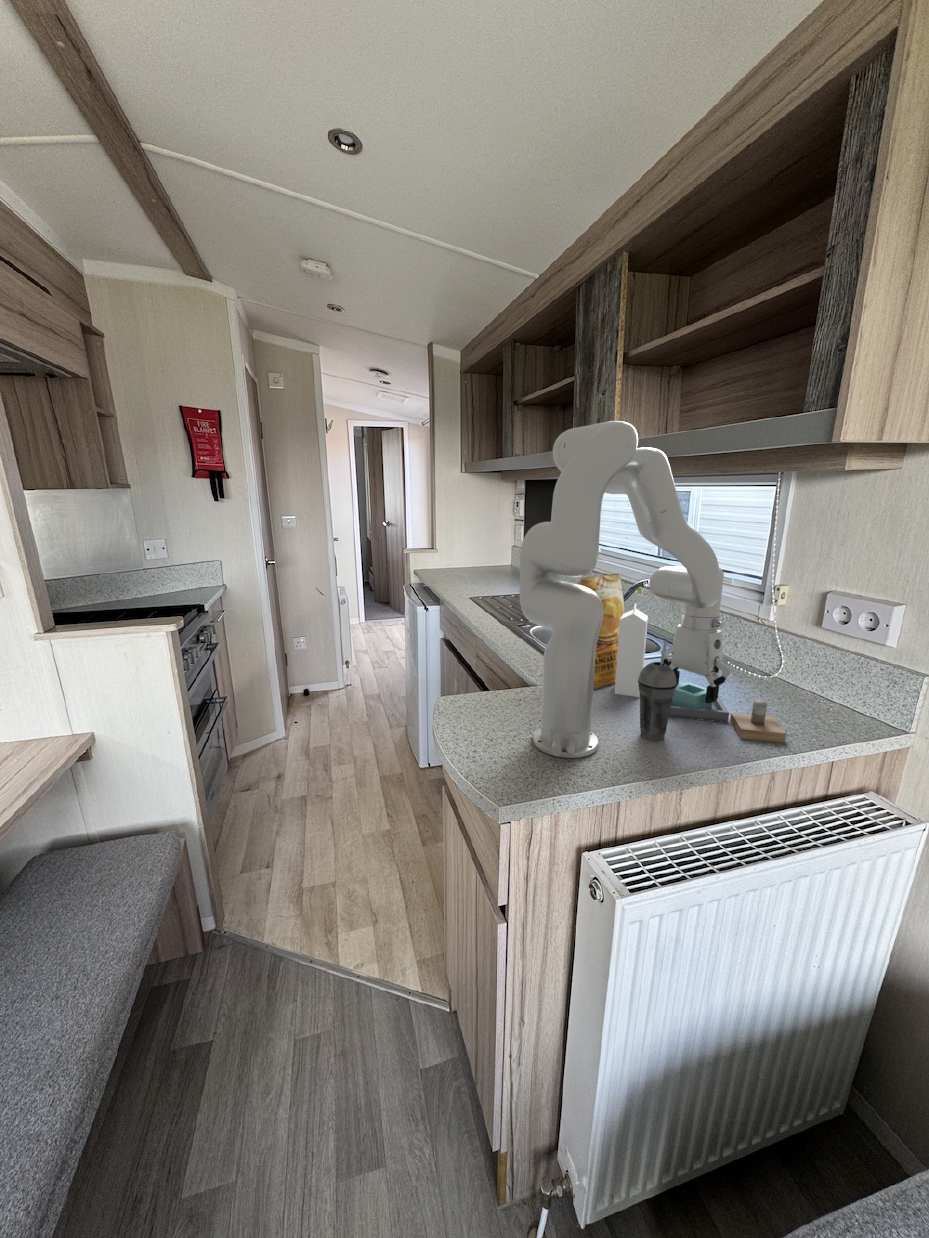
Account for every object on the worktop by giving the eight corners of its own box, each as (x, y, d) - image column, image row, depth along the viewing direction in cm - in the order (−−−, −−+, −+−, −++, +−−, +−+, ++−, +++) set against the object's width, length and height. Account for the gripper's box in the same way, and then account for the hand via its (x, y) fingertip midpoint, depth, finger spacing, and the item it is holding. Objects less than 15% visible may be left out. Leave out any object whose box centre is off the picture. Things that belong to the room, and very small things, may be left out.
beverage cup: (625, 731, 104) (633, 638, 100) (654, 725, 107) (662, 634, 102) (650, 747, 98) (659, 648, 93) (679, 741, 100) (690, 644, 96)
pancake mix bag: (563, 685, 130) (568, 577, 123) (613, 671, 140) (620, 571, 133) (583, 694, 124) (589, 581, 118) (633, 678, 135) (641, 574, 128)
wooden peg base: (784, 742, 100) (789, 712, 98) (740, 738, 101) (744, 708, 100) (771, 725, 107) (775, 696, 106) (729, 721, 109) (733, 693, 107)
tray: (727, 722, 109) (729, 712, 108) (663, 716, 112) (664, 707, 111) (713, 699, 121) (715, 690, 120) (656, 694, 124) (657, 685, 123)
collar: (717, 705, 116) (719, 688, 115) (693, 713, 112) (695, 696, 111) (691, 695, 122) (693, 680, 121) (668, 703, 117) (669, 687, 116)
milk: (614, 694, 124) (619, 606, 119) (617, 685, 130) (622, 601, 124) (640, 697, 122) (647, 608, 117) (642, 689, 127) (649, 603, 122)
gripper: (747, 628, 106) (737, 704, 110) (675, 612, 120) (669, 680, 125) (726, 633, 102) (716, 711, 106) (655, 616, 117) (648, 686, 121)
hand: (691, 694), depth 115 cm, fingers open, 9 cm apart
